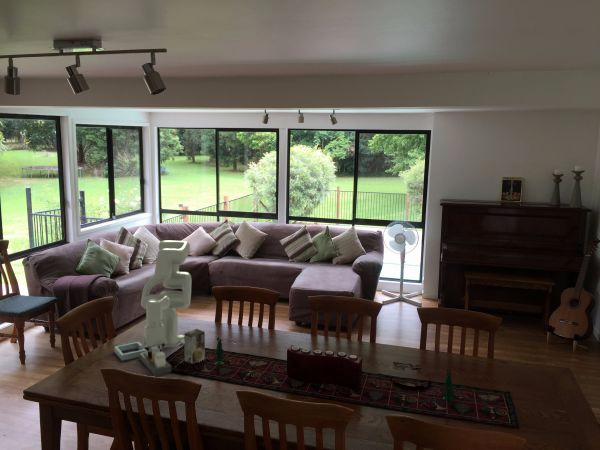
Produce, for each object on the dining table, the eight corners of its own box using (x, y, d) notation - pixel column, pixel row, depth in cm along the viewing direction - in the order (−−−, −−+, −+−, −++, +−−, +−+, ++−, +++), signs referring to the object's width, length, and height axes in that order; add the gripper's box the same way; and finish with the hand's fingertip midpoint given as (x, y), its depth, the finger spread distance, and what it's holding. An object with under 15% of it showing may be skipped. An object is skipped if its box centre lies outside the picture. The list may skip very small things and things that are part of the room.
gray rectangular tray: (154, 356, 271) (154, 349, 270) (171, 373, 252) (171, 366, 251) (139, 360, 266) (139, 353, 265) (154, 377, 247) (154, 369, 247)
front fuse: (162, 368, 256) (162, 351, 254) (165, 371, 252) (165, 354, 251) (154, 369, 253) (154, 353, 252) (157, 372, 250) (157, 355, 249)
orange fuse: (157, 362, 262) (157, 346, 260) (160, 365, 258) (159, 348, 257) (149, 364, 259) (149, 347, 258) (152, 367, 256) (152, 350, 255)
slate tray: (138, 348, 281) (138, 341, 280) (146, 356, 270) (146, 349, 270) (114, 353, 273) (114, 346, 273) (121, 362, 263) (121, 355, 262)
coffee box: (196, 356, 273) (196, 328, 270) (205, 360, 269) (205, 331, 266) (184, 362, 265) (183, 333, 263) (192, 365, 262) (192, 336, 259)
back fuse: (152, 357, 268) (152, 341, 266) (154, 360, 264) (154, 343, 263) (144, 359, 265) (144, 342, 264) (147, 361, 262) (147, 345, 261)
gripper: (167, 318, 263) (167, 351, 266) (135, 324, 253) (136, 358, 256) (172, 322, 257) (173, 356, 260) (140, 328, 247) (141, 363, 250)
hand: (154, 357), depth 258 cm, fingers closed on orange fuse, 4 cm apart
